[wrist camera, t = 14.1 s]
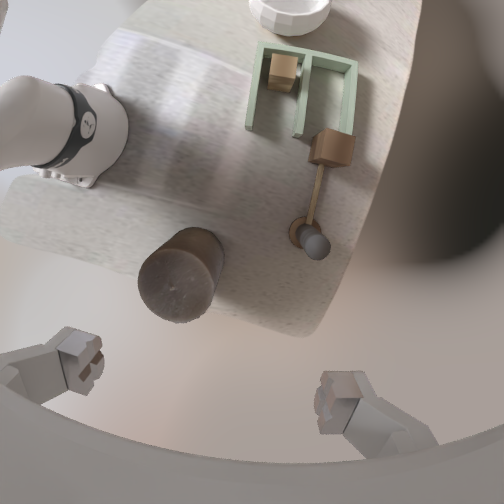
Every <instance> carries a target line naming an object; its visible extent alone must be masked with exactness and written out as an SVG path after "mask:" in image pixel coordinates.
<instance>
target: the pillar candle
mask: <svg viewBox="0 0 504 504" xmlns="http://www.w3.org/2000/svg"><path fill="white" fill-rule="evenodd" d="M223 265H224V252H223V247H222V245H221V243H220V241H219V240H218V239H217V238H216V237H215V236H214V235H213V233H211V232H209V231H207V230H205V229H202V228H198V227H192V228H191V227H190V228H186V229H184V230H181V231H179V232H178V233H176V234H175V235H174V236H173V237H172V238H171V239H170V240H168V241H167V242H166V243H164V244H163V245H162V246H161V247H159V248H158V249H157V250H156V251H155V252H154V253H152V254H151V255H150V256H149V257H148V258H147V259H146V260H145V262H144V263H143V264H142V267H141V269H140V271H139V276H138V289H139V292H140V296H141V298H142V300H143V301H144V303H145V304H146V306H147V307H148V308H149V309H150V310H151V311H152V312H153V313H154V314H156V315H157V316H159V317H161V318H163V319H165V320H168V321H172V322H174V323H187V322H190V321H191V320H194V319H196V318H199V317H200V315H202V314H204V313H205V312H206V310H207V309H208V307H209V306H210V305H211V302H212V298H213V295H214V292H215V289H216V286H217V283H218V280H219V277H220V274H221V271H222V268H223Z"/></svg>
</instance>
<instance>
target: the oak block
mask: <svg viewBox="0 0 504 504" xmlns="http://www.w3.org/2000/svg"><path fill="white" fill-rule="evenodd" d="M297 61H298V57H293V56H287V55H281V54H274V53H272V59H271V66H270V73H269V80H268V87H267V89H269V90H275V91H282V92H288V93H290V90H291V88H292V85H293V83H294V80H295V76H296V69H297Z"/></svg>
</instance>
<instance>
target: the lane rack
mask: <svg viewBox="0 0 504 504" xmlns="http://www.w3.org/2000/svg"><path fill="white" fill-rule="evenodd" d="M272 53H274V54H281V55H287V56H293V57H298V61H297V63H302V66H301V74H300V82H299V90H298V98H297V106H296V113H295V121H294V128H293V136H292V137H296V138H299V137H300V136H301V135H302V134H303V129H304V121H305V114H306V106H307V98H308V89H309V81H310V72H311V65H312V66H317V67H321V68H326V69H330V70H334V71H338V72H342V73H345V75H344V87H343V98H342V108H341V117H340V126H339V132H342V133H346V134H349V135H352V131H353V121H354V112H355V101H356V89H357V75H358V61H355V60H351V59H348V58H344V57H340V56H336V55H332V54H328V53H323V52H319V51H314V50H309V49H304V48H299V47H293V46H287V45H281V44H274V43H267V42H258V46H257V51H256V57H255V63H254V70H253V76H252V82H251V88H250V95H249V101H248V107H247V114H246V121H245V129H246V130H250V131H252V129H253V122H254V115H255V108H256V102H257V95H258V89H259V82H260V76H261V69H262V63H263V57H264V58H271V59H272Z"/></svg>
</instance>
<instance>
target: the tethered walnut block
mask: <svg viewBox="0 0 504 504" xmlns="http://www.w3.org/2000/svg"><path fill="white" fill-rule="evenodd" d="M355 138H356V137H355V136H352V135H349V134H346V133H342V132H339V131H336V130H332V129H329V128H326V129H324V130H323V131H321V132H320V133H318V134H317V135H316V136H314V137H313V139H312V144H311V149H310V154H309V159H308V162H312V163H316V164H319V165H318V170H317V175H316V179H315V184H314V188H313V193H312V197H311V201H310V206H309V210H308V214H307V217H300V218H298V219H296V220H295V221H294V222H293V223H292V224H291V226H290V229H289V236H290V239H291V241H292V243H293V244H294V245H295V246H296V247H298V248H301V249H304V250H305V252H306V253H307V255H308V256H309V257H310V258H311V259H313V260H322V259H324V258H325V257H327V255H328V254H329V252H330V249H331V245H330V242H329V240H328V239H327V238H326V237H325V236H324V235H323V234H321V229H320V226H319V224H318V223H317V222H316V221H315V220H314V219H313V216H314V212H315V207H316V203H317V199H318V194H319V190H320V185H321V181H322V176H323V172H324V167H325V166H327V167H331V168H336V167H344V166H350V164H351V159H352V154H353V149H354V143H355Z"/></svg>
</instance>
